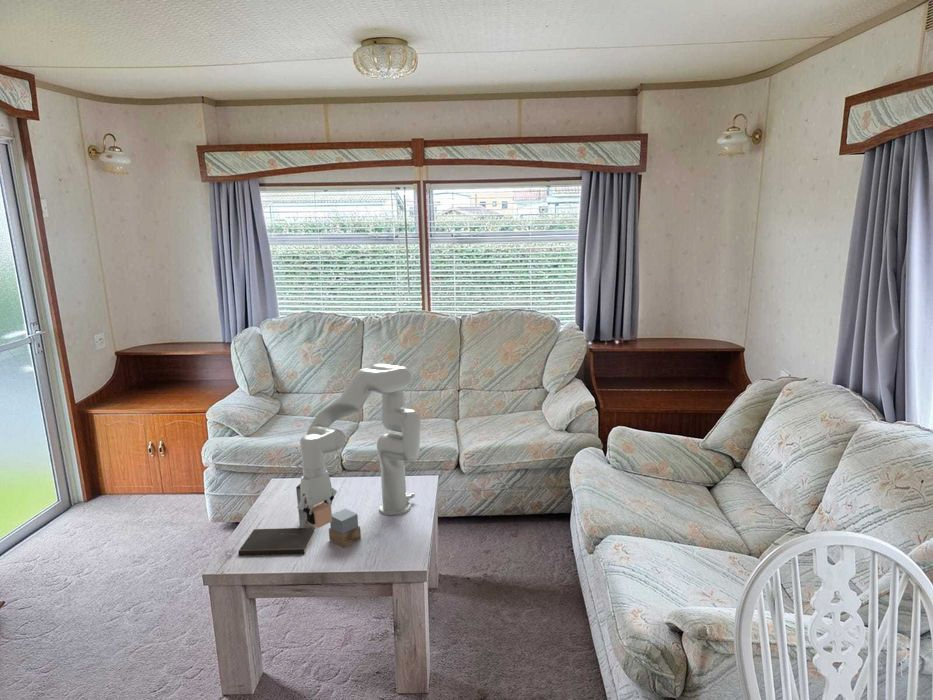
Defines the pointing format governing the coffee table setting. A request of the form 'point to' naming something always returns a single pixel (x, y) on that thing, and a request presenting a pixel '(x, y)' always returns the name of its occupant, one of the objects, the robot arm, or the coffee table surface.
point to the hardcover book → (277, 542)
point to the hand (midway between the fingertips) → (319, 518)
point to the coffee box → (301, 513)
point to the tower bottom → (345, 537)
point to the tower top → (344, 521)
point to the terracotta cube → (321, 514)
